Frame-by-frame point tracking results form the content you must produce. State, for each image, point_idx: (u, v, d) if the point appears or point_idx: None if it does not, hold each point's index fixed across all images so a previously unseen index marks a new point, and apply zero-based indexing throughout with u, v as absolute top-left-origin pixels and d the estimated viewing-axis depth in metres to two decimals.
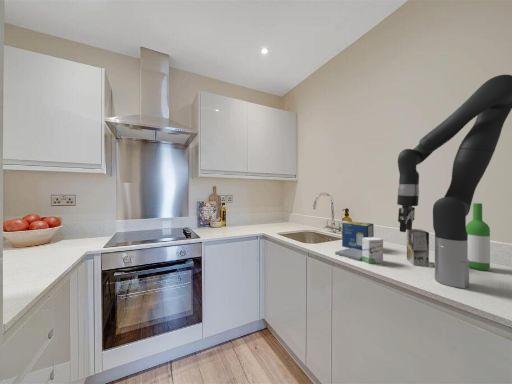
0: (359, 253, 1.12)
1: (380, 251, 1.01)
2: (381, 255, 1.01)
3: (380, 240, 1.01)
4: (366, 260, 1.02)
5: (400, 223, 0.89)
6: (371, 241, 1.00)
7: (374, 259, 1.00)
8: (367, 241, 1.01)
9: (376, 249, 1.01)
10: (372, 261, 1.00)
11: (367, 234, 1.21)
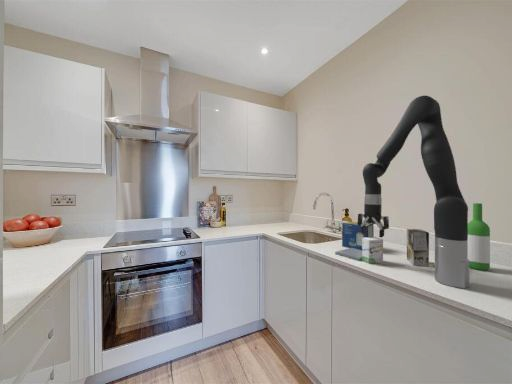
0: (359, 253, 1.12)
1: (380, 251, 1.01)
2: (381, 255, 1.01)
3: (380, 240, 1.01)
4: (366, 260, 1.02)
5: (381, 230, 0.99)
6: (371, 241, 1.00)
7: (374, 259, 1.00)
8: (367, 241, 1.01)
9: (376, 249, 1.01)
10: (372, 261, 1.00)
11: (367, 234, 1.21)
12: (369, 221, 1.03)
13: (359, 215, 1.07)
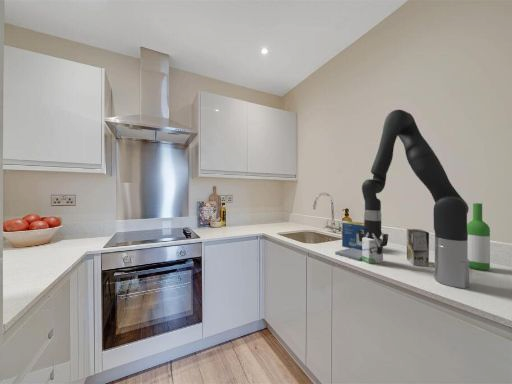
0: (359, 253, 1.12)
1: None
2: (381, 255, 1.01)
3: None
4: (366, 260, 1.02)
5: (379, 247, 0.99)
6: (371, 241, 1.00)
7: (374, 259, 1.00)
8: (367, 241, 1.01)
9: (376, 249, 1.01)
10: (372, 261, 1.00)
11: None
12: (370, 237, 1.03)
13: (359, 231, 1.07)
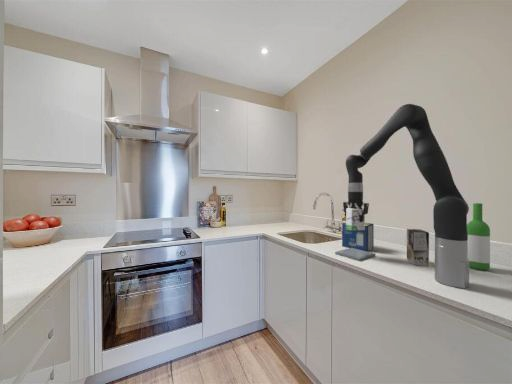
0: (359, 253, 1.12)
1: None
2: (363, 223, 1.12)
3: None
4: (349, 228, 1.12)
5: (361, 215, 1.10)
6: (353, 210, 1.11)
7: (356, 226, 1.11)
8: (350, 210, 1.12)
9: (358, 217, 1.11)
10: (354, 228, 1.11)
11: (367, 234, 1.21)
12: (353, 207, 1.14)
13: (344, 203, 1.18)
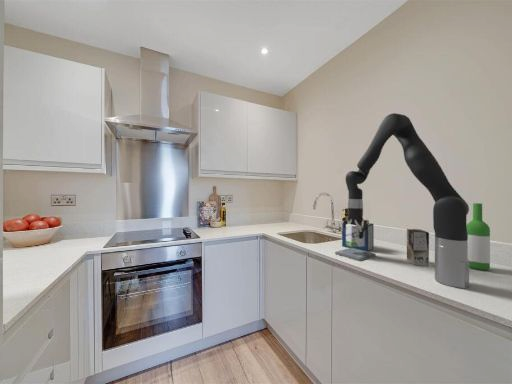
0: (359, 253, 1.12)
1: None
2: (362, 239, 1.12)
3: None
4: (349, 244, 1.12)
5: (360, 232, 1.10)
6: (353, 227, 1.11)
7: (356, 243, 1.11)
8: (350, 227, 1.12)
9: (357, 234, 1.11)
10: (354, 245, 1.11)
11: (367, 234, 1.21)
12: (353, 223, 1.14)
13: (344, 219, 1.18)
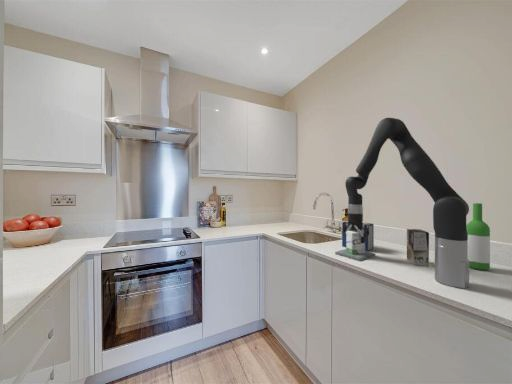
0: None
1: (362, 243, 1.12)
2: (363, 246, 1.12)
3: None
4: (349, 251, 1.12)
5: (362, 236, 1.09)
6: (354, 234, 1.11)
7: (356, 250, 1.11)
8: (350, 234, 1.11)
9: (358, 241, 1.11)
10: (355, 252, 1.11)
11: None
12: (352, 228, 1.14)
13: (344, 223, 1.18)
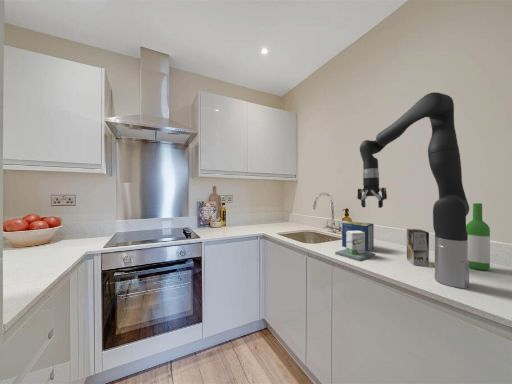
0: None
1: (362, 243, 1.12)
2: (363, 246, 1.12)
3: (362, 233, 1.12)
4: (349, 251, 1.12)
5: (379, 200, 1.06)
6: (354, 234, 1.11)
7: (356, 250, 1.11)
8: (350, 234, 1.11)
9: (358, 241, 1.11)
10: (355, 252, 1.11)
11: (367, 234, 1.21)
12: (368, 194, 1.10)
13: (359, 190, 1.15)
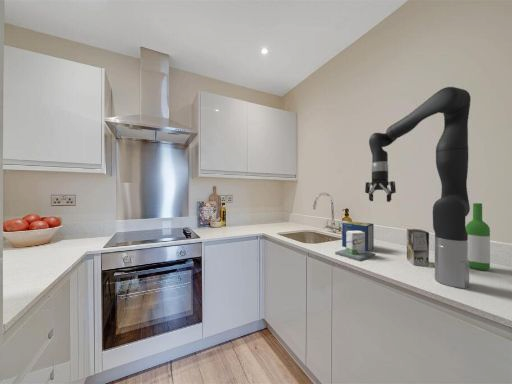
0: None
1: (362, 243, 1.12)
2: (363, 246, 1.12)
3: (362, 233, 1.12)
4: (349, 251, 1.12)
5: (388, 194, 1.04)
6: (354, 234, 1.11)
7: (356, 250, 1.11)
8: (350, 234, 1.11)
9: (358, 241, 1.11)
10: (355, 252, 1.11)
11: (367, 234, 1.21)
12: (376, 188, 1.09)
13: (367, 183, 1.13)
